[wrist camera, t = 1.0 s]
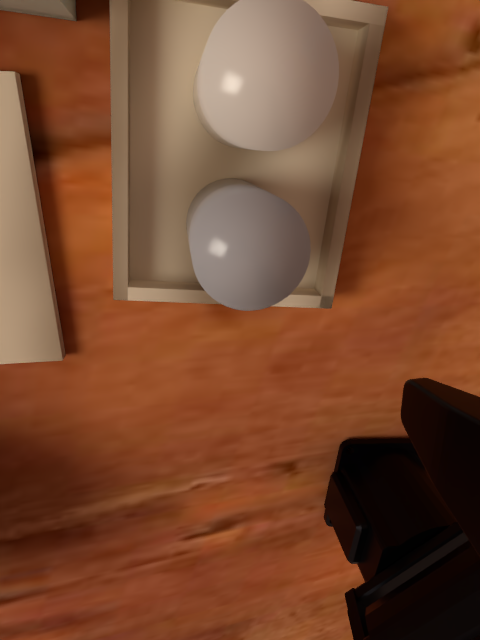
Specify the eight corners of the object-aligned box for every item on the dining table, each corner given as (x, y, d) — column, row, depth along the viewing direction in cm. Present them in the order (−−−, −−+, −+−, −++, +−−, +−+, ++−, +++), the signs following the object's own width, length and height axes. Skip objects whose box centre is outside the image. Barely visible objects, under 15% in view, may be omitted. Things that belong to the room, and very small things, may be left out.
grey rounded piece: (279, 182, 19) (319, 197, 14) (268, 270, 20) (301, 312, 15) (188, 173, 18) (195, 186, 13) (183, 265, 20) (188, 308, 15)
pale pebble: (297, 44, 17) (350, 4, 12) (283, 153, 18) (326, 157, 13) (195, 29, 16) (207, -21, 11) (190, 143, 18) (197, 144, 13)
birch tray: (370, 18, 17) (388, 6, 16) (320, 297, 22) (331, 308, 20) (114, -25, 16) (108, -42, 14) (117, 288, 20) (113, 299, 19)
